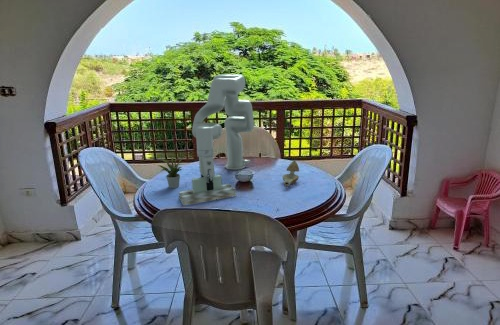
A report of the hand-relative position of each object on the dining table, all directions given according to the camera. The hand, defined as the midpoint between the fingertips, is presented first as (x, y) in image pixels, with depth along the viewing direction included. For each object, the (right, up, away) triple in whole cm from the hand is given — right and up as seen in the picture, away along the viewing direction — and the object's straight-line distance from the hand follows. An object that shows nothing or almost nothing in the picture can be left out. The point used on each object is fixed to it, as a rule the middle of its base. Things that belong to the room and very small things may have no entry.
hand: (207, 186), depth 162 cm
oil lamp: (+42, +1, +19) cm, 46 cm away
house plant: (-19, -1, +18) cm, 26 cm away
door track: (0, -5, +1) cm, 5 cm away
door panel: (0, -4, +1) cm, 4 cm away
